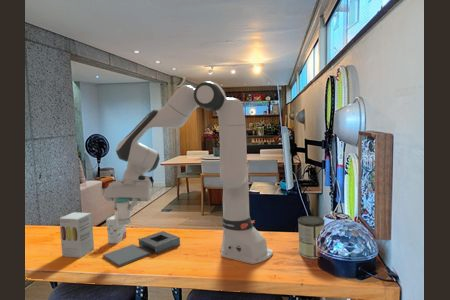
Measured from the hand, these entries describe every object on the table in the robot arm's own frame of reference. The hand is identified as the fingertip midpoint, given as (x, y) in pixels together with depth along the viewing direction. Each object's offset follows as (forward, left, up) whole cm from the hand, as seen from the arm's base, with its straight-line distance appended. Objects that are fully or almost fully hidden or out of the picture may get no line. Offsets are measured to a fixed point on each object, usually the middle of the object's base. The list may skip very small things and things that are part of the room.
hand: (122, 209), depth 128 cm
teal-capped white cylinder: (0, -1, -6) cm, 6 cm away
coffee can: (-58, -51, -20) cm, 79 cm away
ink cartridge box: (+20, -7, -20) cm, 30 cm away
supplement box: (+20, +11, -20) cm, 31 cm away
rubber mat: (0, -1, -20) cm, 20 cm away
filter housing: (-2, -16, -20) cm, 26 cm away
